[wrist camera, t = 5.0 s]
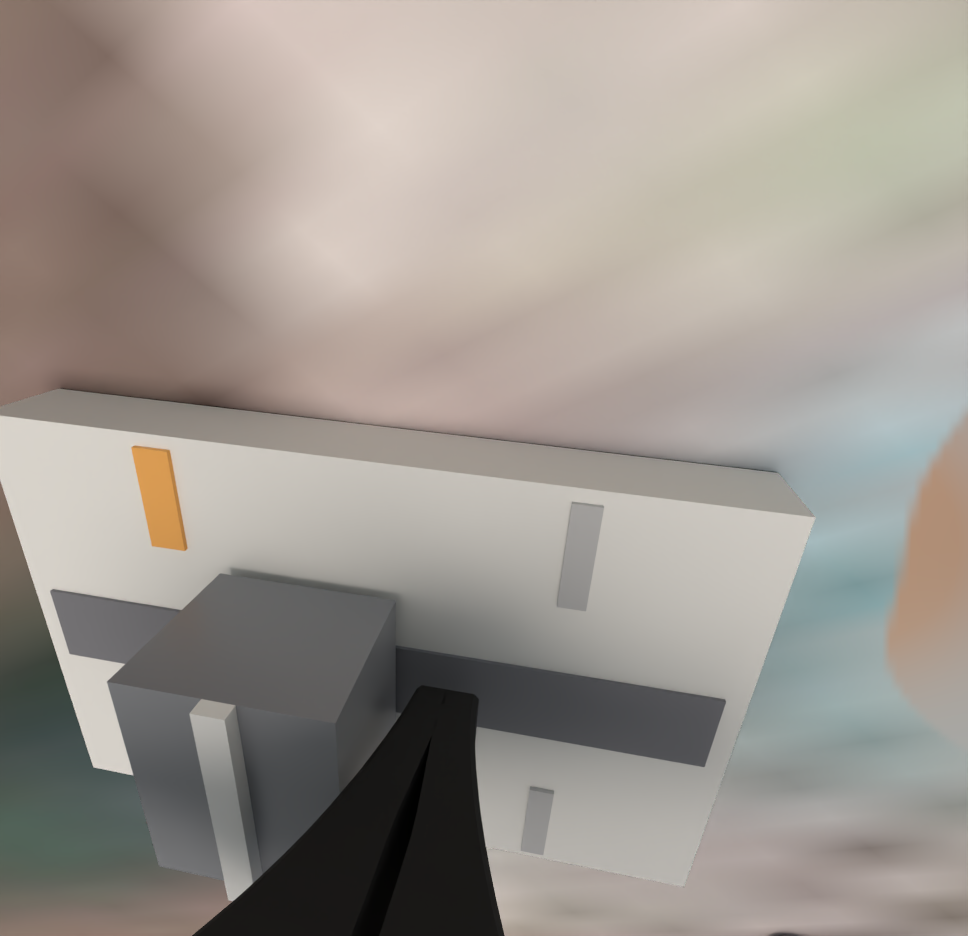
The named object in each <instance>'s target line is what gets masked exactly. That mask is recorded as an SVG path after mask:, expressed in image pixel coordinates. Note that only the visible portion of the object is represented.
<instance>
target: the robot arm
mask: <svg viewBox="0 0 968 936" xmlns="http://www.w3.org/2000/svg"><path fill="white" fill-rule="evenodd" d="M478 705H479V699H478V698H477V697H476V695H475V694H471V693H465V692H459V691H453V690H447V689H442V688H436V687H430V686H424V685H421V686H420V687H418V688H417V689H416V691H415V692H414V694H413V696H412V697H411V699H410V701H409V702H408V704H407V706H406V707H405V709H404V710H403V712H402V713H401V715H400V716H399V718H398V719H397V721H396V722H395V724H394V725H393V726H392V728H391V729H390V731H389V732H388V734H387V735H386V736H385V738H384V739H383V740H382V742H381V743H380V744H379V746H378V747H377V748H376V750H375V751H374V752H373V754H372V755H371V756H370V758H369V759H368V760H367V761H366V763H365V764H364V765H363V767H362V768H361V769H360V770H359V772H358V773H357V774H356V775H355V777H354V778H353V779H352V780H351V781H350V782H349V784H348V785H347V786H346V787H345V788H344V789H343V791H342V792H341V793H340V794H339V795H338V797H337V798H336V799H335V800H334V801H333V802H332V804H331V805H330V806H329V807H328V808H327V809H326V810H325V811H324V813H323V814H322V815H321V816H320V817H319V818H318V819H317V820H316V821H315V822H314V823H313V825H312V826H311V827H310V828H309V829H308V830H307V831H306V832H305V833H304V834H303V835H302V836H301V837H300V838H299V839H298V840H297V841H296V842H295V843H294V844H293V845H292V846H291V847H290V848H289V849H288V850H287V851H286V852H285V853H284V854H283V855H282V856H281V857H280V858H279V859H278V860H277V861H276V862H275V863H274V864H273V865H272V866H271V867H270V868H269V869H268V870H267V871H265V872H264V873H263V874H262V875H261V876H260V877H259V878H258V879H257V880H256V881H255V882H254V883H253V884H252V885H251V886H250V887H248V888H247V889H246V890H245V891H244V892H243V893H242V894H241V895H240V896H238V897H237V898H236V899H235V900H234V901H233V902H232V903H231V904H229V905H228V906H227V907H226V908H225V909H223V910H222V911H221V912H220V913H219V914H217V915H216V916H215V917H214V918H213V919H212V920H210V921H209V922H208V923H207V924H206V925H204V926H203V927H202V928H201V929H200V930H198V931H197V932H196V933H195V934H194V935H192V936H504V932H503V928H502V923H501V919H500V915H499V910H498V906H497V902H496V897H495V892H494V887H493V882H492V878H491V873H490V867H489V862H488V856H487V851H486V845H485V838H484V832H483V825H482V818H481V811H480V803H479V793H478V782H477V772H476V756H475V739H476V728H477V716H478Z"/></svg>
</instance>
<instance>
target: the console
mask: <svg viewBox="0 0 968 936" xmlns="http://www.w3.org/2000/svg"><path fill="white" fill-rule="evenodd" d="M0 481H1V484H2V487H3V490H4V493H5V496H6V499H7V502H8V505H9V508H10V512H11V515H12V518H13V521H14V524H15V527H16V530H17V533H18V536H19V539H20V542H21V545H22V549H23V552H24V555H25V558H26V561H27V564H28V567H29V570H30V573H31V576H32V579H33V582H34V585H35V589H36V592H37V595H38V598H39V601H40V604H41V607H42V610H43V613H44V616H45V619H46V622H47V626H48V629H49V632H50V635H51V638H52V641H53V644H54V647H55V650H56V653H57V656H58V659H59V663H60V666H61V669H62V672H63V675H64V678H65V681H66V684H67V687H68V690H69V693H70V696H71V700H72V703H73V706H74V709H75V712H76V715H77V718H78V721H79V724H80V727H81V730H82V733H83V737H84V740H85V743H86V746H87V749H88V752H89V755H90V758H91V761H92V764H93V767H95V768H100V769H105V770H110V771H115V772H119V773H124V774H129V775H133V772H132V769H131V765H130V761H129V758H128V754H127V751H126V747H125V744H124V740H123V737H122V733H121V730H120V726H119V723H118V719H117V716H116V712H115V709H114V705H113V702H112V698H111V695H110V691H109V688H108V684H107V681H108V680H109V679H110V678H111V677H112V676H113V675H114V674H115V673H116V672H118V671H119V670H120V669H121V668H122V667H123V666H124V665H125V664H126V663H127V662H128V661H129V660H130V659H131V658H132V657H133V656H134V655H135V654H136V653H137V652H138V651H139V650H141V649H142V648H143V647H144V646H145V645H146V644H147V643H148V642H149V641H150V640H151V639H152V638H153V637H154V636H155V635H156V634H157V633H158V632H159V631H160V630H161V629H162V628H163V627H165V626H166V625H167V624H168V623H169V622H170V621H171V620H172V619H173V618H174V617H175V616H176V615H177V614H178V613H179V612H180V611H181V610H182V609H183V608H184V607H185V606H186V605H188V604H189V603H190V602H191V601H192V600H193V599H194V598H195V597H196V596H197V595H198V594H199V593H200V592H201V591H202V590H203V589H204V588H205V587H206V586H207V585H208V584H209V583H210V582H212V581H213V580H214V579H215V578H216V577H217V576H218V575H219V574H220V573H221V574H228V575H234V576H241V577H247V578H254V579H260V580H267V581H273V582H280V583H286V584H293V585H299V586H306V587H312V588H319V589H325V590H331V591H338V592H344V593H351V594H357V595H364V596H370V597H377V598H383V599H390V600H396V721H397V719H398V718H399V716H400V715H401V713H402V712H403V710H404V709H405V707H406V706H407V704H408V702H409V701H410V699H411V697H412V696H413V694H414V692H415V691H416V689H417V688H418V687H420V686H421V685H424V686H430V687H436V688H442V689H447V690H453V691H459V692H465V693H471V694H475V695H476V697H477V698H478V699H479V705H478V716H477V728H476V739H475V756H476V772H477V782H478V793H479V803H480V811H481V818H482V825H483V832H484V838H485V845H486V847H488V848H493V849H498V850H503V851H508V852H512V853H517V854H522V855H527V856H532V857H537V858H542V859H547V860H552V861H557V862H562V863H566V864H571V865H576V866H581V867H586V868H591V869H596V870H601V871H606V872H611V873H616V874H620V875H625V876H630V877H635V878H640V879H645V880H650V881H655V882H660V883H665V884H670V885H675V886H679V887H684V886H685V883H686V881H687V878H688V875H689V872H690V869H691V867H692V864H693V861H694V858H695V855H696V853H697V850H698V847H699V844H700V841H701V838H702V836H703V833H704V830H705V827H706V824H707V822H708V819H709V816H710V813H711V810H712V808H713V805H714V802H715V799H716V796H717V793H718V791H719V788H720V785H721V782H722V779H723V777H724V774H725V771H726V768H727V765H728V763H729V760H730V757H731V754H732V751H733V748H734V746H735V743H736V740H737V737H738V734H739V732H740V729H741V726H742V723H743V720H744V718H745V715H746V712H747V709H748V706H749V704H750V701H751V698H752V695H753V692H754V689H755V687H756V684H757V681H758V678H759V675H760V673H761V670H762V667H763V664H764V661H765V659H766V656H767V653H768V650H769V647H770V644H771V642H772V639H773V636H774V633H775V630H776V628H777V625H778V622H779V619H780V616H781V614H782V611H783V608H784V605H785V602H786V600H787V597H788V594H789V591H790V588H791V585H792V583H793V580H794V577H795V574H796V571H797V569H798V566H799V563H800V560H801V557H802V555H803V552H804V549H805V546H806V543H807V540H808V538H809V535H810V532H811V529H812V526H813V524H814V521H815V518H816V517H815V516H814V515H813V514H812V513H811V511H810V510H809V509H808V508H807V507H806V505H805V504H804V503H803V502H802V501H801V499H800V498H799V497H798V496H797V495H796V494H795V492H794V491H793V490H792V489H791V488H790V486H789V485H788V484H787V483H786V482H785V480H784V479H783V478H782V477H781V476H780V474H779V473H775V472H767V471H758V470H750V469H741V468H733V467H724V466H715V465H707V464H698V463H690V462H681V461H673V460H664V459H656V458H647V457H639V456H630V455H621V454H613V453H604V452H596V451H587V450H579V449H570V448H562V447H553V446H545V445H536V444H527V443H519V442H510V441H502V440H493V439H485V438H476V437H468V436H459V435H451V434H442V433H433V432H425V431H416V430H408V429H399V428H391V427H382V426H374V425H365V424H356V423H348V422H339V421H331V420H322V419H314V418H305V417H297V416H288V415H280V414H271V413H262V412H254V411H245V410H237V409H228V408H220V407H211V406H203V405H194V404H186V403H177V402H168V401H160V400H151V399H143V398H134V397H126V396H117V395H109V394H100V393H92V392H83V391H74V390H66V389H56V390H53V391H49V392H46V393H43V394H39V395H36V396H33V397H30V398H26V399H23V400H20V401H16V402H13V403H10V404H6V405H3V406H0Z"/></svg>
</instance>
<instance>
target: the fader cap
mask: <svg viewBox="0 0 968 936" xmlns="http://www.w3.org/2000/svg"><path fill="white" fill-rule="evenodd" d="M107 684H108V688H109V691H110V695H111V698H112V702H113V705H114V709H115V712H116V716H117V719H118V723H119V726H120V730H121V733H122V737H123V740H124V744H125V747H126V751H127V754H128V758H129V761H130V765H131V769H132V772H133V776H134V779H135V783H136V786H137V790H138V793H139V797H140V800H141V804H142V807H143V811H144V814H145V818H146V821H147V825H148V828H149V832H150V835H151V839H152V842H153V846H154V850H155V853H156V857H157V860H158V864H159V866H161V867H165V868H170V869H174V870H179V871H183V872H188V873H192V874H197V875H201V876H206V877H210V878H215V879H219V880H224V882H225V887H226V891H227V896H228V900H230V901H234V900H235V899H236V898H237V897H238V896H240V895H241V894H242V893H243V892H244V891H245V890H246V889H247V888H248V887H250V886H251V885H252V884H253V883H254V882H255V881H256V880H257V879H258V878H259V877H260V876H261V875H262V874H263V873H264V872H265V871H267V870H268V869H269V868H270V867H271V866H272V865H273V864H274V863H275V862H276V861H277V860H278V859H279V858H280V857H281V856H282V855H283V854H284V853H285V852H286V851H287V850H288V849H289V848H290V847H291V846H292V845H293V844H294V843H295V842H296V841H297V840H298V839H299V838H300V837H301V836H302V835H303V834H304V833H305V832H306V831H307V830H308V829H309V828H310V827H311V826H312V825H313V823H314V822H315V821H316V820H317V819H318V818H319V817H320V816H321V815H322V814H323V813H324V811H325V810H326V809H327V808H328V807H329V806H330V805H331V804H332V802H333V801H334V800H335V799H336V798H337V797H338V795H339V794H340V793H341V792H342V791H343V789H344V788H345V787H346V786H347V785H348V784H349V782H350V781H351V780H352V779H353V778H354V777H355V775H356V774H357V773H358V772H359V770H360V769H361V768H362V767H363V765H364V764H365V763H366V761H367V760H368V759H369V758H370V756H371V755H372V754H373V752H374V751H375V750H376V748H377V747H378V746H379V744H380V743H381V742H382V740H383V739H384V738H385V736H386V735H387V734H388V732H389V731H390V729H391V728H392V726H393V725H394V724H395V722H396V600H390V599H383V598H377V597H370V596H364V595H357V594H351V593H344V592H338V591H331V590H325V589H319V588H312V587H306V586H299V585H293V584H286V583H280V582H273V581H267V580H260V579H254V578H247V577H241V576H234V575H228V574H221V573H220V574H219V575H218V576H217V577H216V578H215V579H214V580H213V581H212V582H210V583H209V584H208V585H207V586H206V587H205V588H204V589H203V590H202V591H201V592H200V593H199V594H198V595H197V596H196V597H195V598H194V599H193V600H192V601H191V602H190V603H189V604H188V605H186V606H185V607H184V608H183V609H182V610H181V611H180V612H179V613H178V614H177V615H176V616H175V617H174V618H173V619H172V620H171V621H170V622H169V623H168V624H167V625H166V626H165V627H163V628H162V629H161V630H160V631H159V632H158V633H157V634H156V635H155V636H154V637H153V638H152V639H151V640H150V641H149V642H148V643H147V644H146V645H145V646H144V647H143V648H142V649H141V650H139V651H138V652H137V653H136V654H135V655H134V656H133V657H132V658H131V659H130V660H129V661H128V662H127V663H126V664H125V665H124V666H123V667H122V668H121V669H120V670H119V671H118V672H116V673H115V674H114V675H113V676H112V677H111V678H110V679H109V680H108V681H107Z"/></svg>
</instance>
